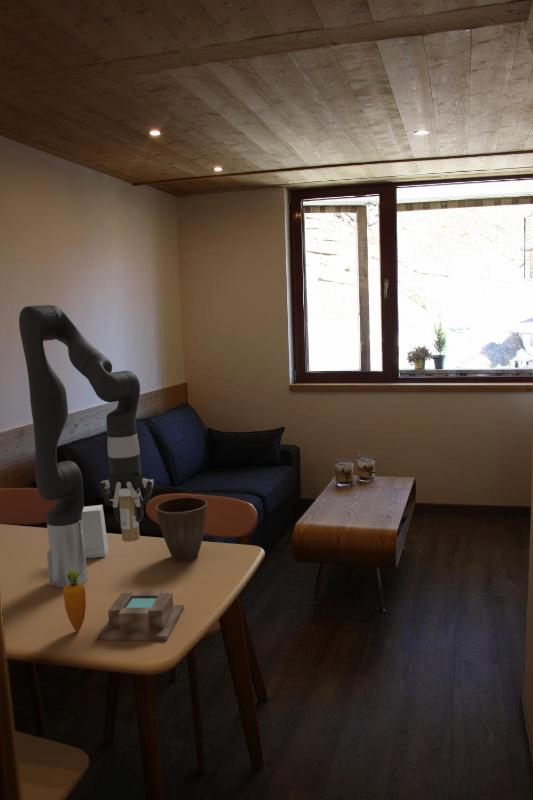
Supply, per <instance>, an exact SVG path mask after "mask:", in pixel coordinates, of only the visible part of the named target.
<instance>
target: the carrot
mask: <svg viewBox="0 0 533 800" xmlns="http://www.w3.org/2000/svg"><path fill="white" fill-rule="evenodd" d="M68 571H69V573H68V574H67V577H68V579H69V581H70V584H68V585H66V586H65V587H64V588H62V589H63V590H62V594H63V601H64V607H65V611H66V615H67V618H68V621H69V622H70V624H71V626H72V627H73V629H74V631H76V632H77V631H78V632H79V631H80V630H81V628H82V626H83V624H84V620H85V616H86V608H87V607H86V606H87V604H86V603H87V602H86V598H87V597H86V588H85V586H84V583H77V581H78V579H77V578H78V576H79V574H80V573H82V571H79V572H78V573H77V575H76V571H73V572H72V569H69V570H68ZM75 575H76V576H75Z"/></svg>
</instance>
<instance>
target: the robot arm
mask: <svg viewBox="0 0 533 800" xmlns="http://www.w3.org/2000/svg"><path fill="white" fill-rule="evenodd" d="M18 317H19V318H18V326H19V328H18V329H19V334H20V340H21V345H22V349H23V354H24V358H25V364H26V369H27V370H26V371H27V376H28V377H27V378H28V387H29V388H28V389H29V399H30V401H29V402H30V409H31V410H30V411H31V418H32V425H33V434H34V446H35V447H34V450H35V451H34V453H35V461H34V463H35V468H34V469H35V482H36V489H37V492H38V493H39V495H40V497H41V498H42V499H44V500H45V501H48V502H51V501H55V500H57V501H56V503H55V504H54V505H53V506H52V507H51V508H50V509H49V510H48V511H47V513H46V516H45V518H46V519H45V520H46V525H47V534H48V535H47V538H48V547H49V548H48V550H47V552H46V558H47V559H46V561H47V569H48V580H49V586H54V587H57V588H62V589H63V588H64V587H65V586H66V585H68V584H70V581H69V579H68V577H67V574H68V573H69V571H68V570H69V569H72V572H73V571H76V575H77V573H78V572H79V571H82V573H80V574H79V576H78V578H77V579H78V581H77V583H82V584H84V583H86V582H87V580H88V570H87V558H86V556H85V545H84V534H83V524H82V511H83V507H85V506H84V504H85V503H84V482H83V475H82V471H81V469H80V467H79V466H78V465H77V463H76V462H74V461H71V460H65V461H60V462H58V457H57V454H58V444H59V441H60V439H61V435H62V433H63V431H64V428H65V426H66V423H67V421H68V416H69V407H68V398H67V391H66V388H65V387H66V386H65V385H64V383H63V382H62V381H61V379H60V378H59V376H58V375H57V374H56V372H55V371H54V369H53V368H52V367H51V364H50V363H49V362H48V361H49V360H48V359H47V356H46V352H45V347H44V342H45V341H47V342H48V341H55V340H57V341H59V342H61V343H62V344H64V345H65V346H66V347H67V352H68V353H67V354H68V358H69V361H70V363H71V364H72V365H73V367H74V368H75V369H76V370H77V371H78V372H79V373H80V374H81V375H82V376H84V377H85V378H86V379H87V380H88V382H89V384H90V386H91V388H92V389H93V391H94V393H95V395H96V396H97V398H99V400H102V401H103V402H106V403H116V402H117V406H116V408H115V409H113V410H112V411H110V412H109V413H107V414H106V418H105V421H106V433H107V435H106V436H107V456H108V458H107V459H108V466H109V478H108V479H107V480H106V479H105V480H103V479H102V481H100V482H99V483H98V484H97V485H98V487H99V490H100V493H101V496H102V498H103V500H104V504H105V505H106V506H111V507H112V508H113V515H114V520H116V521H117V523H121V521H120V510H119V489H121V488H128V489H130V491H131V496H132V498H133V499H134V501H135V504H136V506H137V507H136V508H135V509H136V521H137V522H139V523H140V522H141V521H142V519H144V516H145V515H144V513H145V512H144V506H147V505H148V503H150V502H151V498H152V493H153V490H154V485H155V480H154V479H153V478H151V479H149V478H148V479H147V478H145V477H144V476H143V474H142V465H141V454H140V451H141V449H140V444H139V443H140V442H139V439H138V432H137V419H136V417H137V413H138V406H139V401H140V394H141V384H140V380H139V378H138V376H137V374H135V373H134V372H133V371H131V370H120V371H115V372H112V371H113V364H112V361H110V359H108V358H107V357H106V355H104V354H103V353H102V352H101V351H99V350H98V349H97V348H96V347H94V345H92V344H91V343H90V342H89V341H88V340H87V338H85V336H84V335H83V334H82V332H81V331H80V330H79V329H78V327H77V326H76V325H75V324H74V322H73V321H72V320H71V318H70V317H69V316H68V315H67V313H65V311H63V309H62V308H61V307H59V306H58V305H53V304H46V305H45V304H44V305H43V304H41V305H28V306H27V305H26V306H24V307H23V308H22V309H21V310H20V313H19V316H18ZM142 485H143V488H144V489H145V491H144V494H143V497H142V492H141V490H140V487H141V486H142ZM111 487H112V488H113V489H114V490H115V491H114V496H113V494H112V493H111V491H110V488H111ZM136 492H137V493H136ZM76 575H75V576H76Z"/></svg>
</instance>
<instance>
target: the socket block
mask: <svg viewBox="0 0 533 800" xmlns="http://www.w3.org/2000/svg"><path fill="white" fill-rule="evenodd" d="M132 598H157V599H156V600H155V602H154V603H153V605H152V607H151V608H126V607H127V605H128V604H129V602H130V601H131V600H132ZM184 610H185V606H184V604H174V598H173V592H163V590H161V589H159V590H158V589H157V590H155V589H154V590H153V589H151V590H150V589H149V590H145V589H144V590H143V589H141V590H138V589H137V590H134V592H121V593H120V594H119V595H118V597H117V598H116V599H115V601H114V602H113V603H112V604H111V606H110V607H109V608H108V610H107V615H108V621H107V622H106V624H105V625H104V626H103V628H102V629H101V630H100V631H99V633H98V635H97V640H98V639H103V640H102V641H168V640H169V638H170V636H171V634H172V633H173V631H174V628H175V626H176V624H177V623H178V621H179V619H180V618H181V615H182V613H183V611H184Z"/></svg>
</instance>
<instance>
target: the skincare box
mask: <svg viewBox="0 0 533 800" xmlns="http://www.w3.org/2000/svg"><path fill="white" fill-rule="evenodd" d="M82 524H83V534H84V545H85V556H86V559H93V558H104V557H106V556H107V553H108V552H109V544H108V543H109V542H108V536H107V529H106V522H105V513H104V506H103V504H98V505H88V506H84V507H83V511H82Z"/></svg>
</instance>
